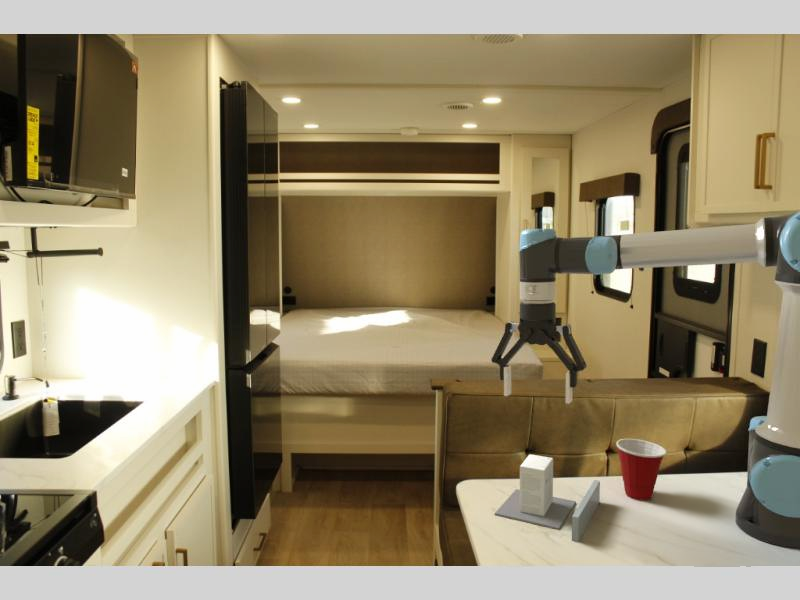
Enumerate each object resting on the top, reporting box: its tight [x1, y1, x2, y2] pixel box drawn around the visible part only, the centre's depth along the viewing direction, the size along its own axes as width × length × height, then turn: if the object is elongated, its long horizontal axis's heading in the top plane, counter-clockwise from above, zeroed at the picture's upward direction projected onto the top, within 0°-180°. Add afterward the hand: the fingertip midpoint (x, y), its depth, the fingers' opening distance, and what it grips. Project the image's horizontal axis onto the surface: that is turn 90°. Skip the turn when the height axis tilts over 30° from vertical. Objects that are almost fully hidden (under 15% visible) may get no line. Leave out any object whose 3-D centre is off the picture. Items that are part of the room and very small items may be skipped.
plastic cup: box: [616, 438, 667, 501], centre depth 137 cm, size 11×11×12 cm
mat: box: [494, 488, 577, 531], centre depth 132 cm, size 14×14×1 cm
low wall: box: [571, 479, 601, 543], centre depth 126 cm, size 1×20×5 cm, turn 150°
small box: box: [519, 453, 554, 516], centre depth 131 cm, size 8×6×10 cm
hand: (537, 398), depth 129 cm, fingers open, 13 cm apart
